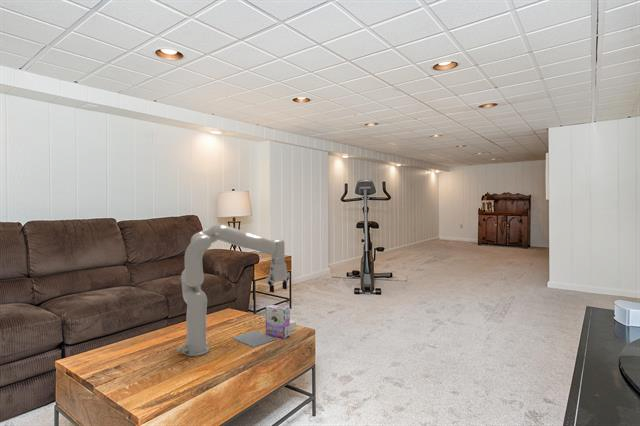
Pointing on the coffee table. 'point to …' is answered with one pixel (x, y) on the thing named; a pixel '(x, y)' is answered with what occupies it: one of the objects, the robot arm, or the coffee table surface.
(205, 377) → the coffee table surface
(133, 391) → the coffee table surface
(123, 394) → the coffee table surface
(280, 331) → the candy box
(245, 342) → the grey mat
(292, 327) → the cream block
